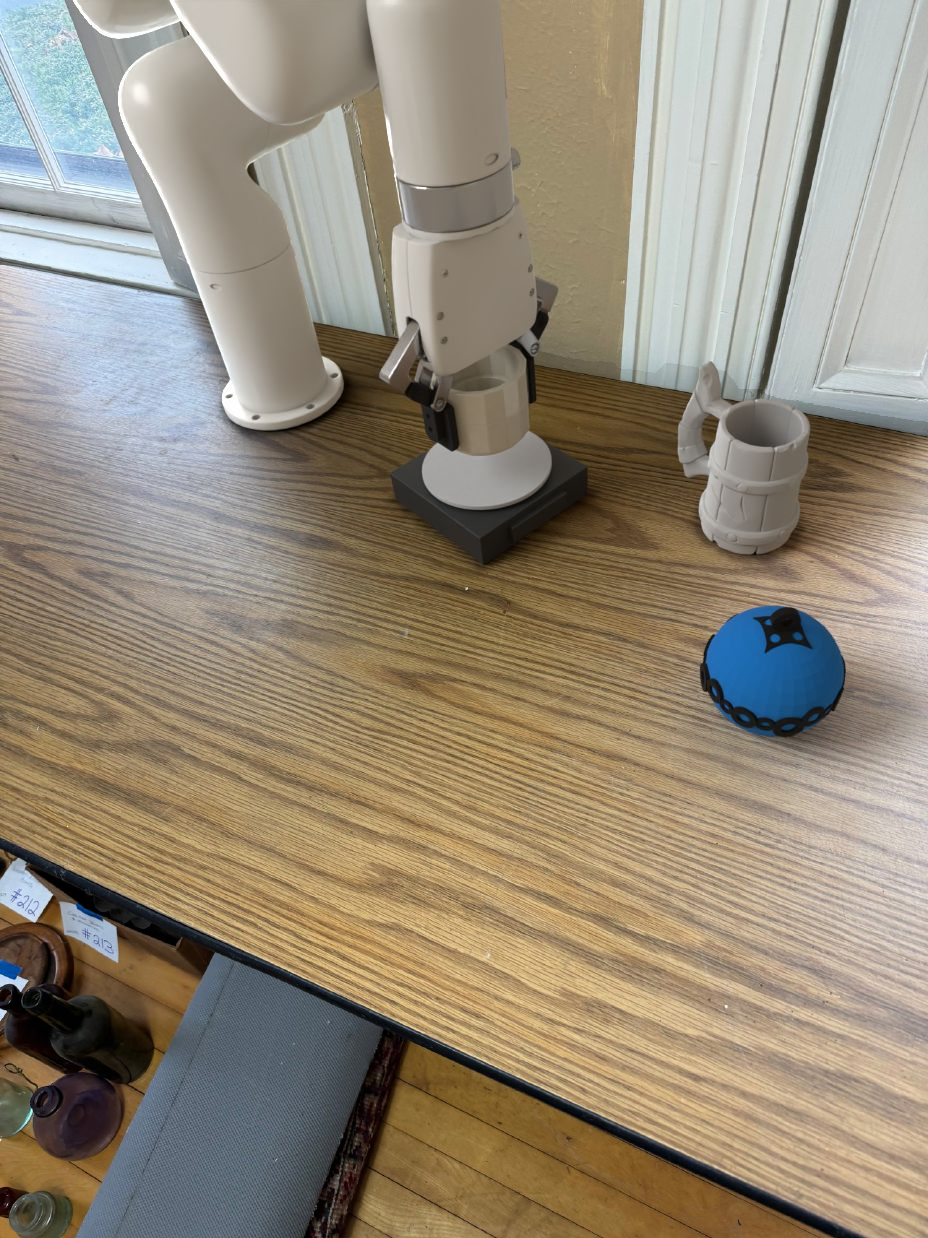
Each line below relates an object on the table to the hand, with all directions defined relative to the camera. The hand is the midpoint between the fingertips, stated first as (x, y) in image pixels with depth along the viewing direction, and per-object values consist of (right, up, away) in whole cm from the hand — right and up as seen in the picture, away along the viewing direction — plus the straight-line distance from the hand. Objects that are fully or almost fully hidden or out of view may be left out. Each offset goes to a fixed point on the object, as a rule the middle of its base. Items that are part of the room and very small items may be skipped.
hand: (483, 418), depth 69 cm
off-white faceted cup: (0, -1, +1) cm, 1 cm away
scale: (+1, -5, +6) cm, 8 cm away
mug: (+20, -7, +2) cm, 22 cm away
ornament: (+18, -22, -11) cm, 31 cm away
